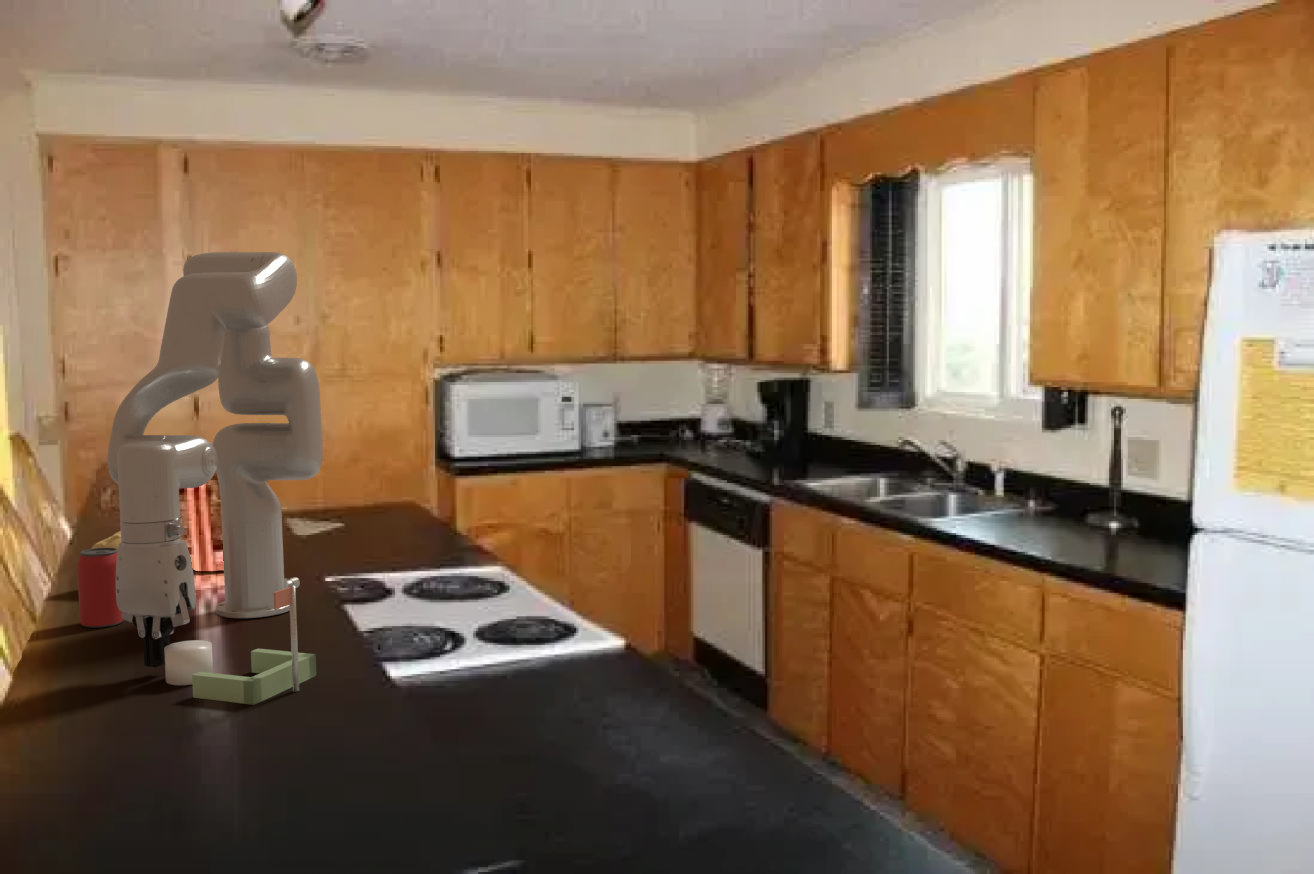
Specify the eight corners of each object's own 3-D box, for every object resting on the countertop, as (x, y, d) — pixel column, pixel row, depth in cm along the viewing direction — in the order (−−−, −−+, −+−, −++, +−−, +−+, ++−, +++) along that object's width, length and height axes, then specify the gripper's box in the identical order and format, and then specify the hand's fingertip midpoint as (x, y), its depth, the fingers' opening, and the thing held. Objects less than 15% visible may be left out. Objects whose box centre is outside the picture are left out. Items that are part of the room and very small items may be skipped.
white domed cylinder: (189, 670, 163) (188, 638, 163) (222, 674, 161) (221, 642, 161) (155, 682, 158) (154, 649, 158) (189, 687, 156) (188, 654, 155)
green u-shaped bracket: (258, 669, 163) (254, 570, 162) (328, 676, 160) (324, 575, 158) (193, 697, 151) (188, 590, 150) (266, 706, 147) (262, 596, 146)
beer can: (107, 629, 186) (103, 555, 185) (71, 627, 187) (66, 553, 186) (134, 619, 192) (130, 547, 191) (98, 617, 194) (94, 546, 192)
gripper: (214, 530, 160) (220, 661, 162) (129, 525, 165) (135, 652, 167) (175, 540, 153) (181, 677, 155) (86, 534, 158) (93, 666, 160)
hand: (157, 664), depth 161 cm, fingers closed
